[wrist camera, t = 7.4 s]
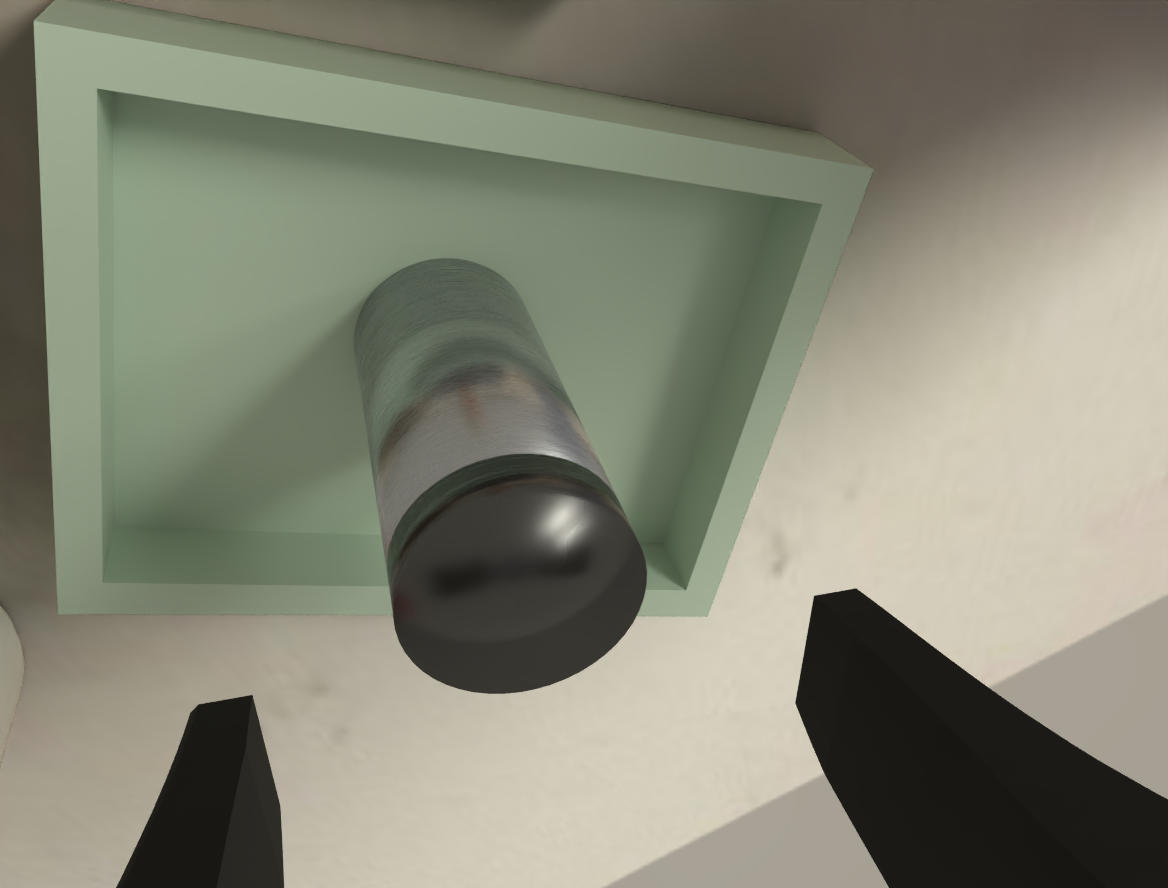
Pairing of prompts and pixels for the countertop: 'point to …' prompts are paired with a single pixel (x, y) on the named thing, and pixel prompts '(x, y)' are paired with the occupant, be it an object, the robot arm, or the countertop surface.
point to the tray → (359, 265)
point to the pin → (487, 487)
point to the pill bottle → (9, 676)
